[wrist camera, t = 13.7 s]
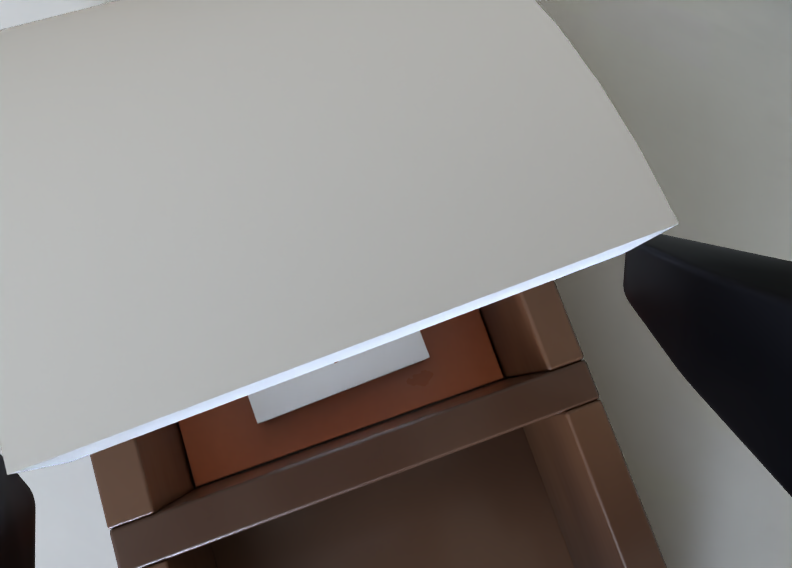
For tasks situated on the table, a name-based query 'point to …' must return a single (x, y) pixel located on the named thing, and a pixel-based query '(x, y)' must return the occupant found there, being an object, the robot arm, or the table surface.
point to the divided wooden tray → (398, 466)
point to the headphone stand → (281, 200)
